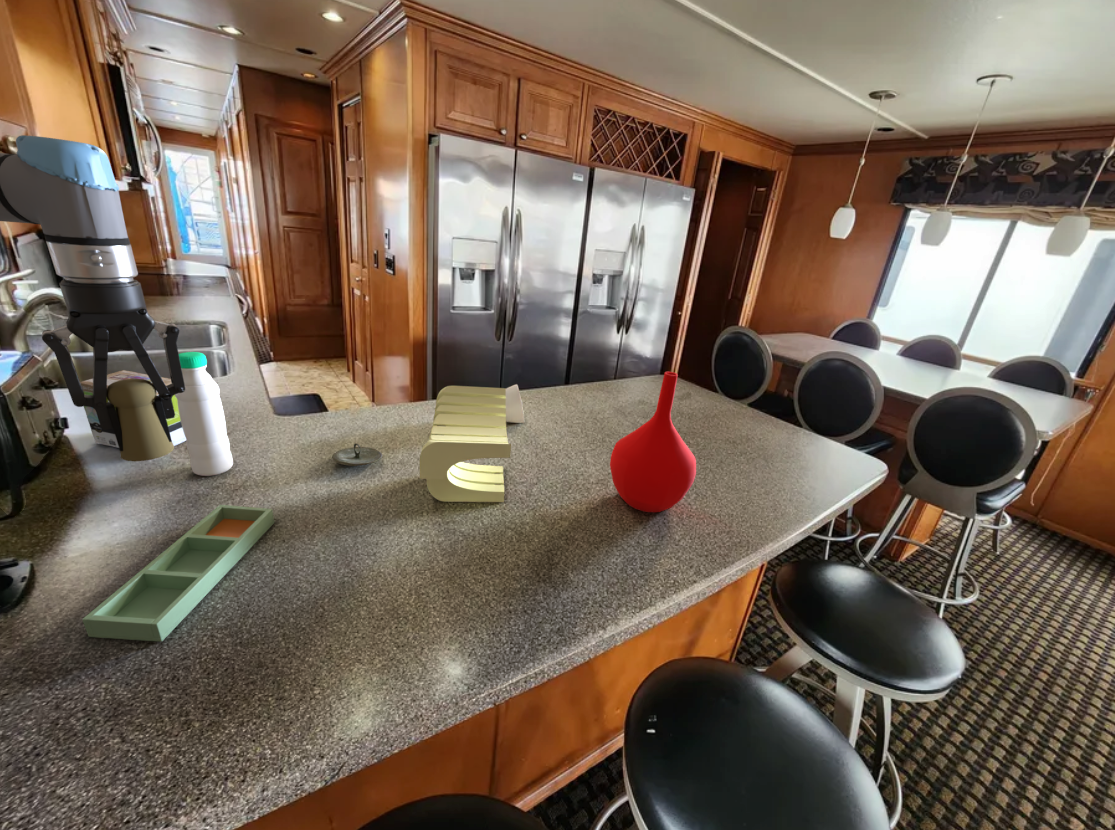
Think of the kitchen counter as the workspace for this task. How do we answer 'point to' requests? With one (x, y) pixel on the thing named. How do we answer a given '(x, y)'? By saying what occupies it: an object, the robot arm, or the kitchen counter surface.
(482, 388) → the slatted curved stool
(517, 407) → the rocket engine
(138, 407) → the cork
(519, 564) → the kitchen counter surface
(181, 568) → the compartment tray
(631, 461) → the vase
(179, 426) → the tea box
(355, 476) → the kitchen counter surface
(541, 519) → the kitchen counter surface
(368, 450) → the lid
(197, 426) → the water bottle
